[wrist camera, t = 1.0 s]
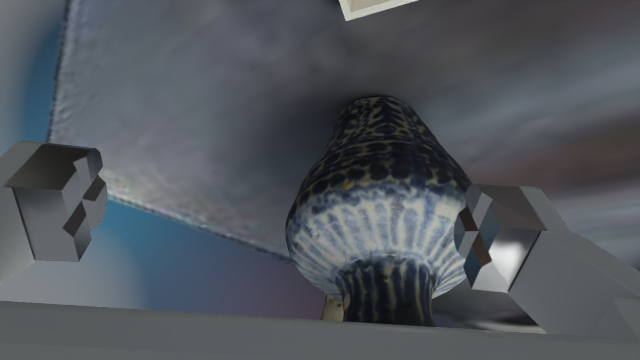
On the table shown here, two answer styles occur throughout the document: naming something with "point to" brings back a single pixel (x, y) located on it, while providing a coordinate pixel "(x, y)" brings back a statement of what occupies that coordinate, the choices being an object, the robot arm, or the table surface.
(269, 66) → the table surface
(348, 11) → the white storage bin
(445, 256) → the jug
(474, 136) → the table surface
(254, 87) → the table surface
